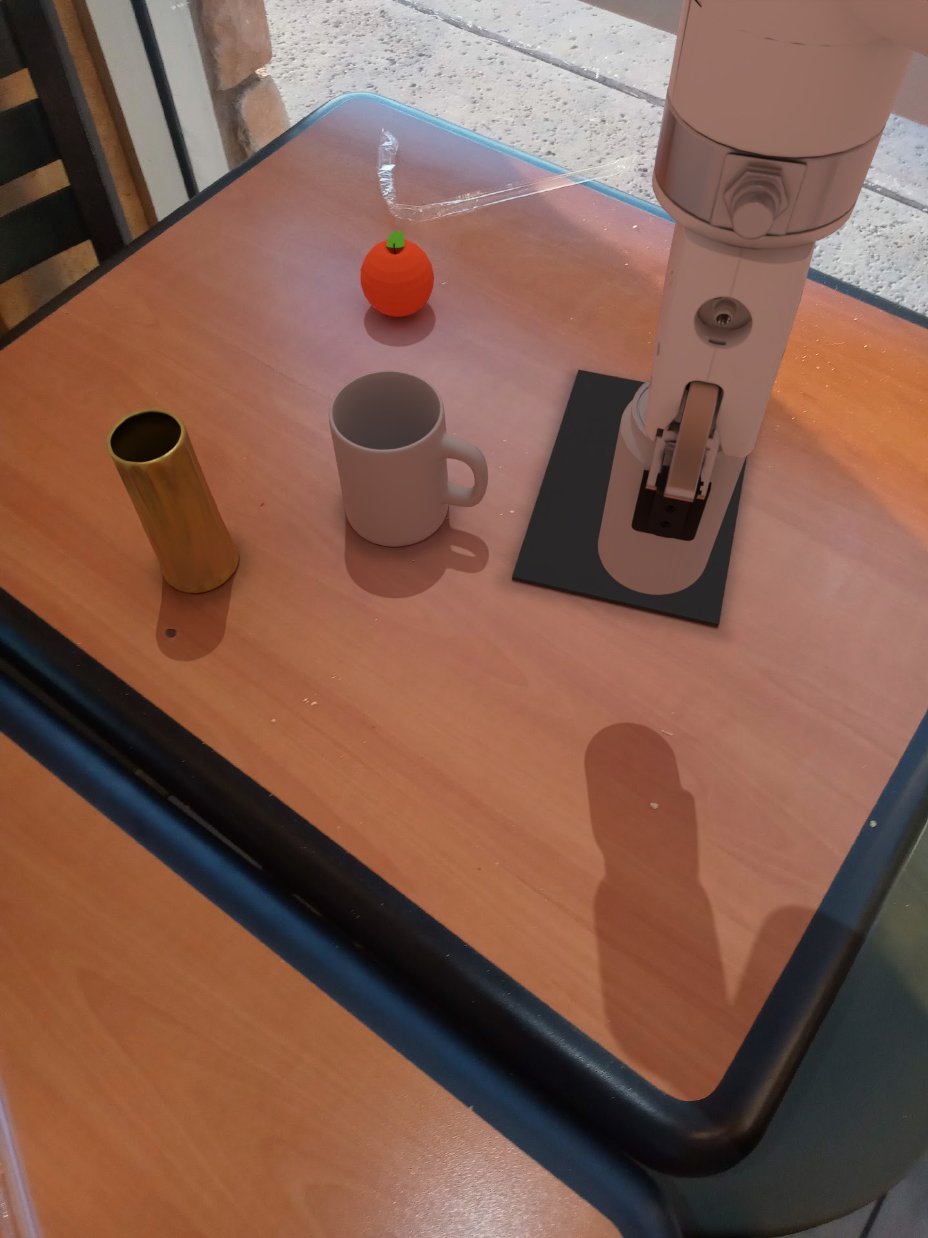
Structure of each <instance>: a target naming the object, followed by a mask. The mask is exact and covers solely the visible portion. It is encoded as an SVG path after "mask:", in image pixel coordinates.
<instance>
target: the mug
mask: <svg viewBox="0 0 928 1238" xmlns="http://www.w3.org/2000/svg"><path fill="white" fill-rule="evenodd" d="M329 405H330V406H329V410H328V423H329V424H328V425H329V429H330V435H331V439H332V446H333V451H334V456H335V462H336V467H337V471H338V472H337V473H338V478H339V483H340V488H341V494H342V495H341V496H342V501H343V509H344V512H345V517H346V520H347V522H348V523H349V525H350V526H351V528H352V529H353V530H354V531H355V533H356V534H357V535H359V536H360V537H361V538H363V539H364V540H366V541H368V542H370V543H372V544H375V545H379V546H384V547H392V548H394V547H395V548H396V547H406V546H411V545H414V544H417V543H420V542H422V541H424V540H426V539H427V538H429V537H431V536H432V535H433V534H434V533H436V532H437V530H439V529H440V527H441V526H442V525H443V523H444V522H445V519H446V517H447V514H448V512H449V511H448V510H449V505H450V506H455V507H460V508H473V507H475V506H477V505H479V504H480V503H481V502H482V500H483V499H484V497H485V496H486V495H485V494H486V492H487V487H488V484H489V469H488V468H489V467H488V464H487V459H486V457H485V455H484V453H483V451H482V450H481V449H480V448H479V446H477V445H476V444H474V443H472V442H470V441H469V440H465V439H463V438H461V437H456V436H454V435H450V434H448V433H447V424H446V412H445V406H444V405H445V404H444V402H443V399H442V396H441V395H440V393H439V391H438V390H437V389H436V388H435V386H434V385H433V384H431V383H430V382H429V381H428V380H426V379H425V378H422V377H421V376H419V375H417V374H414V373H411V372H407V371H403V370H391V369H389V370H386V369H385V370H377V371H372V372H367V373H364V374H362V375H360V376H357V377H355V378H353V379H351V380H350V381H349V382H346V384H344V385H343V386H342V387H340V389H339V390H337V392H336V393H335V394H334V396H333V398H332V400H331V403H330V404H329ZM448 459H452V460H457V461H460V462H462V463H465V464H466V465H467V466H468V467H469V468H470V470H471V471H472V474H473V478H474V484H473V486H472V487H464V486H460V485H457V484H454V483H452V482H451V481H449V472H448Z"/></svg>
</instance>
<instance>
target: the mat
mask: <svg viewBox="0 0 928 1238" xmlns="http://www.w3.org/2000/svg"><path fill="white" fill-rule="evenodd" d="M645 382H646V381H641V380H635V379H629V378H625V377H620V376H614V375H609V374H606V373H605V374H604V373H600V372H593V371H589V370H583V369H578V370H577V373H576V376H575V379H574V382H573V385H572V389H571V391H570V395H569V398H568V401H567V404H566V407H565V410H564V413H563V417H562V419H561V423H560V426H559V429H558V432H557V435H556V438H555V441H554V444H553V447H552V451H551V454H550V456H549V460H548V463H547V466H546V470H545V473H544V475H543V479H542V482H541V485H540V488H539V490H538V494H537V498H536V501H535V504H534V506H533V510H532V513H531V516H530V519H529V522H528V525H527V529H526V532H525V534H524V538H523V542H522V544H521V548H520V549H519V550H520V551H519V554H518V557H517V560H516V562H515V566H514V569H513V572H512V575H511V580H513V581H518V582H522V583H526V584H530V585H535V586H539V587H544V588H548V589H552V590H557V591H560V592H565V593H570V594H574V595H579V596H582V597H586V598H590V599H595V600H599V601H604V602H609V603H613V604H616V605H622V606H626V607H630V608H634V609H639V610H643V611H647V612H651V613H656V614H660V615H664V616H669V617H673V618H677V619H681V620H685V621H691V622H695V623H699V624H703V625H706V626H707V625H708V626H712V627H715V628H716V627H717V628H718V627H719V625H720V620H721V615H722V610H723V609H722V608H723V603H724V597H725V589H726V584H727V578H728V573H729V567H730V560H731V555H732V550H733V549H732V548H733V542H734V537H735V531H736V524H737V519H738V514H739V513H738V512H739V507H740V501H741V494H742V488H743V484H744V483H743V482H744V476H745V471H746V464H747V459H748V455H747V456H746V458H745V461H744V464H743V466H742V469H741V472H740V474H739V477H738V480H737V483H736V485H735V488H734V491H733V493H732V496H731V499H730V502H729V504H728V507H727V510H726V512H725V515H724V518H723V521H722V523H721V526H720V529H719V531H718V534H717V537H716V540H715V542H714V545H713V548H712V550H711V553H710V556H709V559H708V561H707V564H706V567H705V569H704V571H703V573H702V574H701V576H700V577H699V578H698V579H697V580H696V581H695V582H694V583H693V584H691V585H690V586H689V587H687V588H685V589H683V590H681V591H678V592H675V593H670V594H663V595H653V594H646V593H641V592H637V591H634V590H632V589H630V588H627V587H625V586H624V585H622V584H621V583H619V582H618V581H616V580H615V579H614V578H613V577H612V576H611V575H610V574H609V573H608V572H607V570H606V569H605V568H604V566H603V564H602V561H601V559H600V556H599V552H598V540H599V534H600V529H601V524H602V518H603V513H604V508H605V503H606V497H607V492H608V487H609V482H610V476H611V471H612V466H613V461H614V455H615V450H616V445H617V439H618V434H619V429H620V424H621V419H622V415H623V413H624V411H625V409H626V407H627V406H628V405H629V403H630V402H631V401H632V400H633V398H634V396H635V394H636V392H637V391H638V389H639V388H640V387H641V386H642V385H643V384H644V383H645Z"/></svg>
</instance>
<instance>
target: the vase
mask: <svg viewBox="0 0 928 1238" xmlns="http://www.w3.org/2000/svg"><path fill="white" fill-rule="evenodd" d="M105 445H106V450H107V452H108V455H109V456H110V458H111V460H112V461H113V462H112V463H114V466H115V468H116V470H117V472H118V475H119V477H120V479H121V480H122V483H123V486H124V487H125V490H126V492H127V494H128V497H129V498H130V500H131V503H132V505H133V508H134V510H135V512H136V514H137V516H138V518H139V521H140V523H141V526H142V528H143V531H144V532H145V535H146V537H147V539H148V541H149V544H150V545H151V547H152V550H153V552H154V554H155V556H156V559H157V561H158V564H159V568H160V571H161V575H162V577H163V579H164V580H165V582H166V583H167V584H168V585H170V586H171V587H172V588H174V589H176V590H178V591H180V592H182V593H188V594H200V593H206V592H209V591H212V590H214V589H216V588H219V587H221V586H222V585H223V584H225V583H226V582H227V581H228V580H229V579H230V578H231V577H232V575H233V574H234V572H236V570H237V567H238V564H239V562H240V561H239V559H240V552H239V548H238V546H237V544H236V542H235V541H234V540H233V538H232V537H231V535H230V532H229V530H228V528H227V526H226V524H225V521H224V519H223V517H222V515H221V512H220V510H219V507H218V504H217V503H216V500H215V498H214V495H213V493H212V491H211V488H210V486H209V484H208V482H207V481H208V480H207V479H206V476H205V474H204V471H203V469H202V466H201V464H200V461H199V458H198V457H197V453H196V451H195V448H194V446H193V444H192V441H191V438H190V435H189V432H188V429H187V427H186V425H185V423H184V421H183V420H182V419H181V417H180V416H178V415H177V414H176V413H174V412H173V411H171V410H168V409H165V408H160V407H145V408H141V409H136V410H134V411H131V412H128V413H126V414H125V415H123V416H122V417H121V418H119V419H118V420H117V421H116V422H115V423H114V424H113V425H112V426H111V428H110V429H109V431H108V433H107V435H106V439H105Z"/></svg>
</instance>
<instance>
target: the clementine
mask: <svg viewBox="0 0 928 1238" xmlns="http://www.w3.org/2000/svg"><path fill="white" fill-rule="evenodd" d="M361 264H362V265H361V267H360V275H359V276H360V277H359V278H360V287H361V289H362V293H363V295H364V297H365V299H366V300H367V302H368V303H369V304H370V306H371V307H373V308H374V309H375V310H377V311H378V312H380V313H381V314H383V315H385V316H389V317H394V318H401V317H403V318H404V317H407V316H411V315H414V314H415V313H417V312H418V311H419V310H421V309H422V308H423V307H424V306H425V305H426V304H427V302H428V301H429V299H430V297H431V295H432V292H433V289H434V283H435V273H434V269H433V264H432V262H431V261H430V259H429V256H428V255H427V253H426V252H425V251H424V250H423V249H422V248H421V247H420V246H419V245H418V244H416V243H415V242H413V241H411V240H407V239H405V235H404V232H403V231H402V230H394V231H392V232H391V233H390V235H389V236H388V238H387V239H384V240H382V241H380V242H377V243H376V244H375V245H374V246H372V248H371V249H370V250H369V251H368V252H367V253H366V255H365V256H364V259H363V261H362V263H361Z"/></svg>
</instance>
